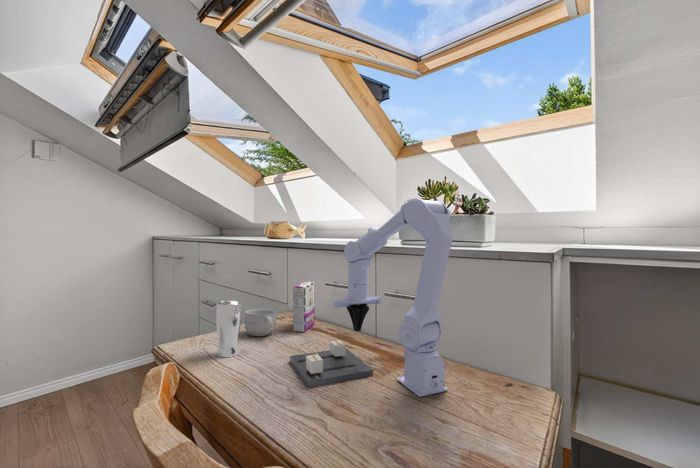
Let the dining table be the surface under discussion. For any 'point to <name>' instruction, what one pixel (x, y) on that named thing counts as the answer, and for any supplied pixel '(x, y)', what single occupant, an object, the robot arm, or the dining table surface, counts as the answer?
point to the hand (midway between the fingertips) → (357, 330)
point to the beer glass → (228, 327)
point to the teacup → (260, 321)
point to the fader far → (337, 348)
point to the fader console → (331, 368)
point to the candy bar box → (303, 306)
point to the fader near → (314, 363)
